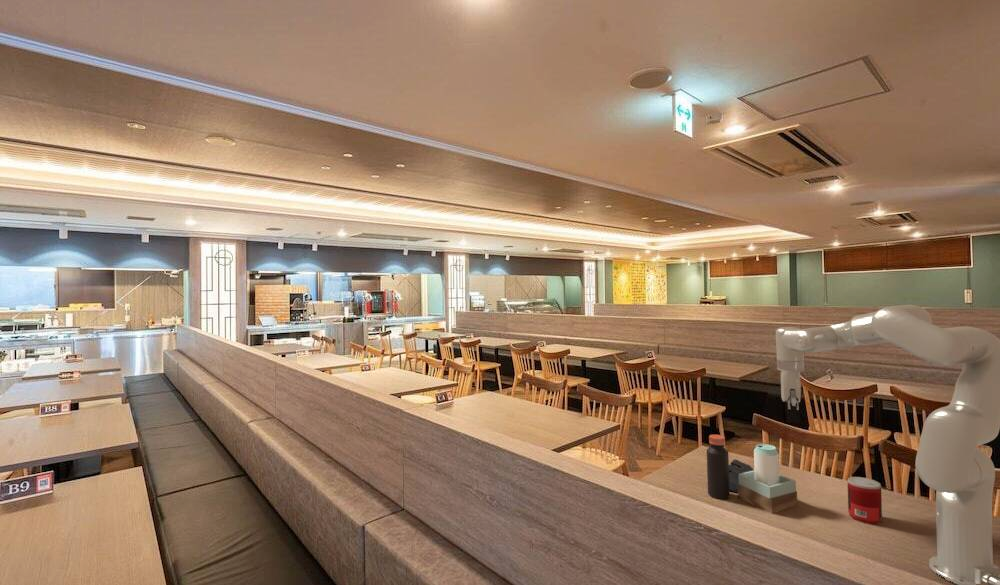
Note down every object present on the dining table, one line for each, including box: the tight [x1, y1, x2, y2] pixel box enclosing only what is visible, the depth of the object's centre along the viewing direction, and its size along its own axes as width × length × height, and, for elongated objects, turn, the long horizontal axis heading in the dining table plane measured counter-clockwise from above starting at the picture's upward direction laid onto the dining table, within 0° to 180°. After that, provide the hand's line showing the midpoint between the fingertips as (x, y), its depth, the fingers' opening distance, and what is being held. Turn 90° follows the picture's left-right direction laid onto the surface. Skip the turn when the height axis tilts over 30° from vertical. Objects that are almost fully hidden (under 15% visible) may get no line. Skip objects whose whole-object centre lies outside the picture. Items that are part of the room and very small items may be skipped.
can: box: [753, 443, 780, 486], centre depth 152 cm, size 7×7×12 cm
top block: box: [739, 469, 797, 498], centre depth 152 cm, size 12×12×4 cm
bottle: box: [706, 434, 731, 500], centre depth 158 cm, size 7×7×20 cm
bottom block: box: [737, 484, 798, 514], centre depth 152 cm, size 12×12×5 cm
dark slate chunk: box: [729, 459, 754, 494], centre depth 169 cm, size 15×22×5 cm
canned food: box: [847, 476, 883, 525], centre depth 139 cm, size 8×8×11 cm
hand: (792, 418), depth 150 cm, fingers open, 9 cm apart
